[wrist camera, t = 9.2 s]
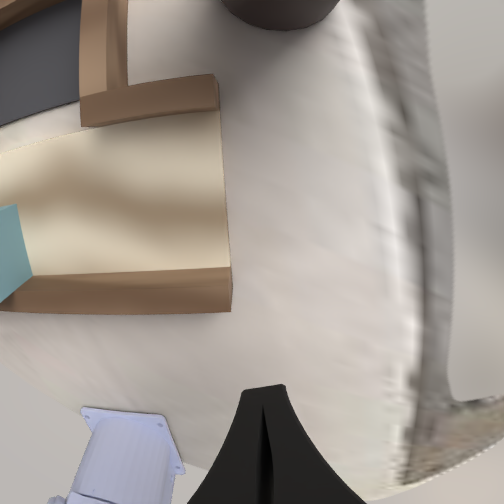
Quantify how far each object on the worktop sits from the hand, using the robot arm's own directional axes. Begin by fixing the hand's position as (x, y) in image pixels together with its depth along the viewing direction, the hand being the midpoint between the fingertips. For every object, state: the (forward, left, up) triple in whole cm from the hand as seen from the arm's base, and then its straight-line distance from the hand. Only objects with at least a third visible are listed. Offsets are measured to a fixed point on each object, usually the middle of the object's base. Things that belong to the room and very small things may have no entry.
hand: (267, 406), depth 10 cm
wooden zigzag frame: (+10, +13, -10) cm, 19 cm away
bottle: (+18, -2, -10) cm, 20 cm away
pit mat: (+16, +13, -10) cm, 22 cm away
